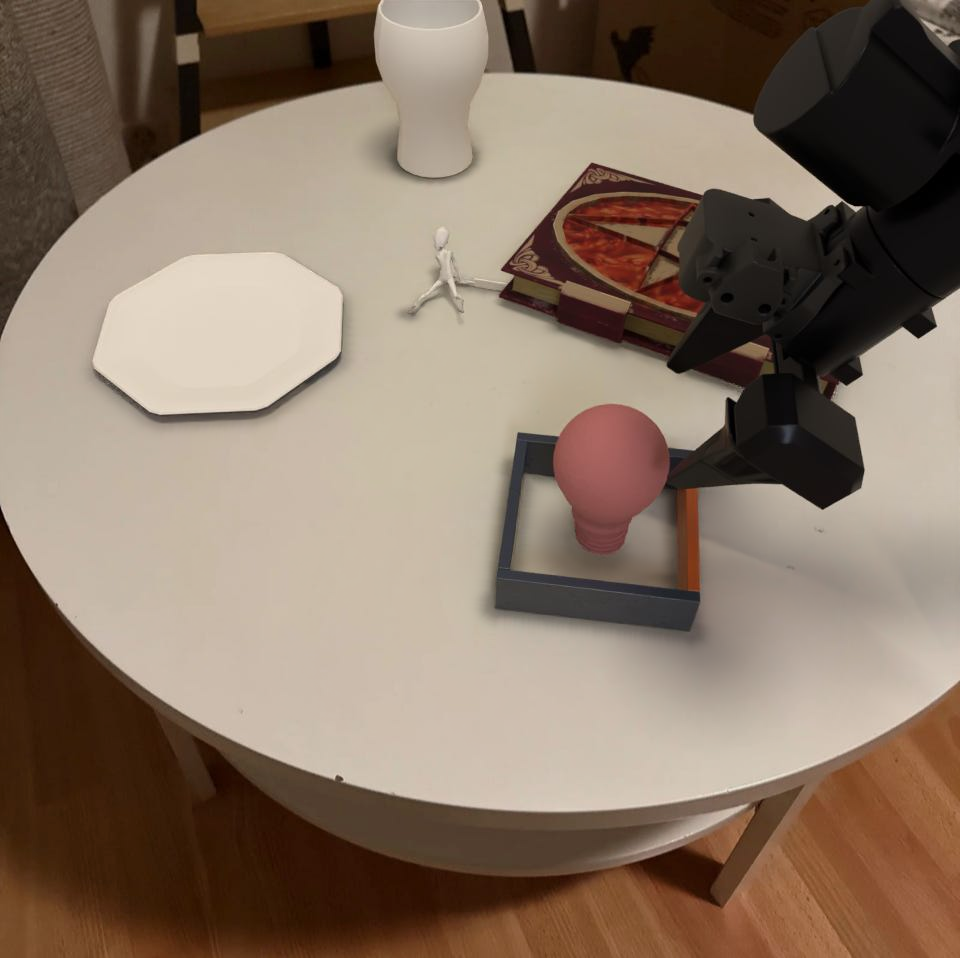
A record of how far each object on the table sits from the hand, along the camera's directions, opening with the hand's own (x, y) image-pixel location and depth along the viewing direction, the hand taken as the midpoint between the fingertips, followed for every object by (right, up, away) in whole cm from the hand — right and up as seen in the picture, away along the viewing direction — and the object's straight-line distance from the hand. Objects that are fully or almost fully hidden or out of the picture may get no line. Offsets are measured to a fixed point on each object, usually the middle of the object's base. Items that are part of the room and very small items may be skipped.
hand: (672, 422), depth 53 cm
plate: (-32, +8, +24) cm, 41 cm away
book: (+8, +13, +28) cm, 32 cm away
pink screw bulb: (-3, -8, +10) cm, 13 cm away
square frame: (-3, -8, +10) cm, 13 cm away
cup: (-16, +30, +42) cm, 53 cm away
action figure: (-11, +12, +27) cm, 31 cm away
